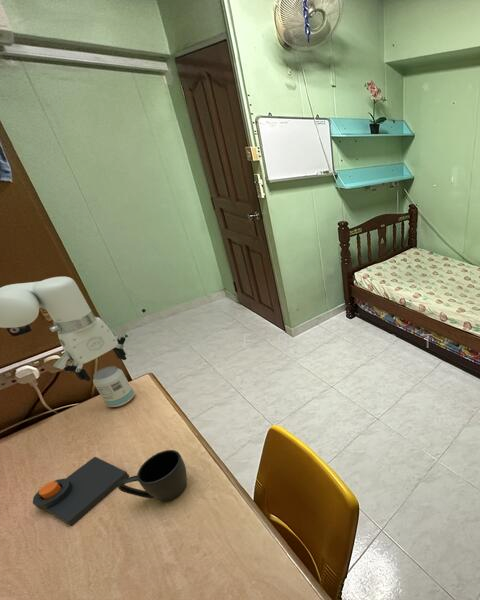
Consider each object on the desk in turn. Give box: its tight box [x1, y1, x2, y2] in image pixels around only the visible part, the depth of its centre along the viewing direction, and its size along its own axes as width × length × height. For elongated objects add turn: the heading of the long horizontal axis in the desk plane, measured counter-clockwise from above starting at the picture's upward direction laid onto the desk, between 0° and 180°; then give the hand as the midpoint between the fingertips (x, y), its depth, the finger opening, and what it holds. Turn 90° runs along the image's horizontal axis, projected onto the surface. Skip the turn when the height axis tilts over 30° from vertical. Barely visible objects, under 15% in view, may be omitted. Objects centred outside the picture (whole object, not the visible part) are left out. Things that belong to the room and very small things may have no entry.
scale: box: [32, 456, 130, 527], centre depth 74 cm, size 12×12×4 cm
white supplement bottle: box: [92, 365, 135, 408], centre depth 97 cm, size 7×7×12 cm
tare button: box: [38, 480, 61, 499], centre depth 71 cm, size 3×3×2 cm
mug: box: [117, 449, 187, 503], centre depth 72 cm, size 8×12×10 cm
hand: (105, 368), depth 93 cm, fingers open, 9 cm apart
